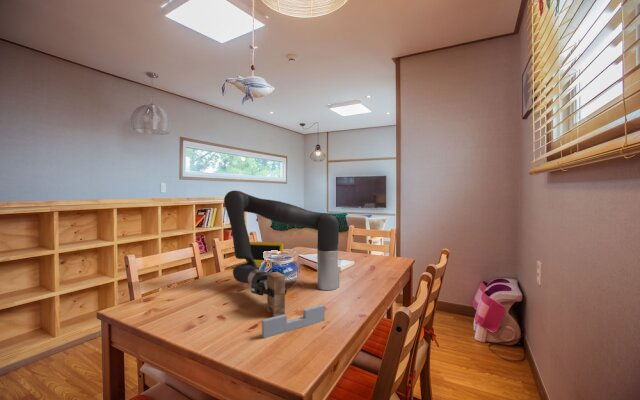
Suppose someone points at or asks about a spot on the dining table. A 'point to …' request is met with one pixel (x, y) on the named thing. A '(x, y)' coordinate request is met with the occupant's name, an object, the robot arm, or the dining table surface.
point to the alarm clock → (260, 247)
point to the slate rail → (292, 321)
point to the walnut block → (276, 293)
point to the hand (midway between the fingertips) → (279, 293)
